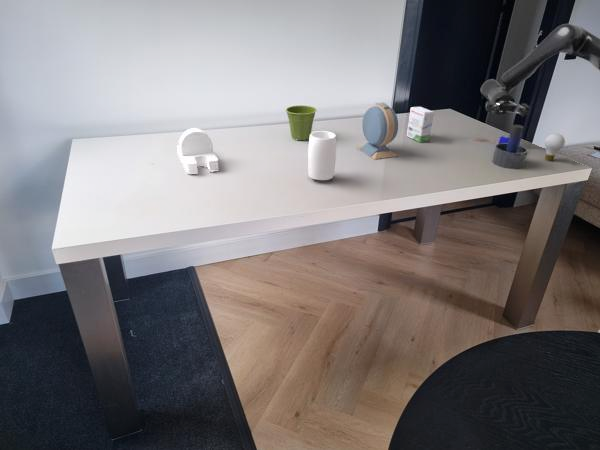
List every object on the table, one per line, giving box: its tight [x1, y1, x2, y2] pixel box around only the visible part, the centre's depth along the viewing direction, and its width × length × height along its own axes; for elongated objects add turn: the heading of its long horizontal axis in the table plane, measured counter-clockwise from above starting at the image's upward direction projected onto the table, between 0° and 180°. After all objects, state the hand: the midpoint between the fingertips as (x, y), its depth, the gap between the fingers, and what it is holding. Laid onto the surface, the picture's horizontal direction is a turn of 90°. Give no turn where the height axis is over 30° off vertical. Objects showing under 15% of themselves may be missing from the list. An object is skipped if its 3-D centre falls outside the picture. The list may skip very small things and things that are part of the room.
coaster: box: [471, 137, 494, 144], centre depth 168 cm, size 8×8×1 cm
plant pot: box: [285, 104, 318, 141], centre depth 165 cm, size 12×12×11 cm
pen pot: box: [491, 143, 529, 170], centre depth 146 cm, size 10×10×6 cm
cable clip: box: [498, 132, 524, 145], centre depth 159 cm, size 12×4×6 cm, turn 132°
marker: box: [506, 124, 524, 153], centre depth 144 cm, size 3×3×13 cm
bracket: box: [176, 127, 220, 174], centre depth 141 cm, size 19×10×11 cm, turn 24°
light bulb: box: [544, 133, 566, 162], centre depth 149 cm, size 6×6×10 cm
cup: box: [307, 130, 337, 181], centre depth 131 cm, size 8×8×14 cm
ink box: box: [406, 106, 435, 143], centre depth 167 cm, size 8×5×12 cm, turn 27°
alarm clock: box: [356, 102, 399, 160], centre depth 152 cm, size 14×10×18 cm
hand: (511, 113), depth 150 cm, fingers open, 8 cm apart
